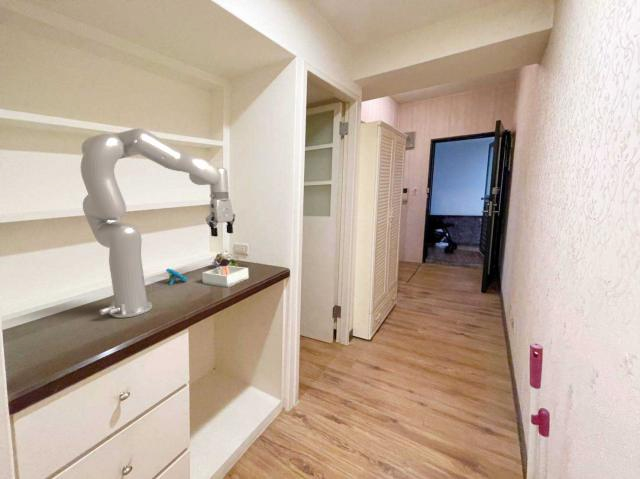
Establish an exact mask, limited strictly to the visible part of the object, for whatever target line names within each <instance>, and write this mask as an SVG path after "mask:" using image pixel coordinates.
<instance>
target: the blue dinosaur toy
mask: <svg viewBox="0 0 640 479" xmlns="http://www.w3.org/2000/svg"><path fill="white" fill-rule="evenodd" d="M165 271H166V272H167V273H168V276H169V277H168V279H167V280H166V283H169V285H171V286H172V285H173V284H174V282H175V281H176V280H177V279H179V280H180V281H182V282H187V281H188V279H187V277H186V276H183V274H182V273H179V272H178V271H175V270H174V269H171V268H166V270H165Z"/></svg>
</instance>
